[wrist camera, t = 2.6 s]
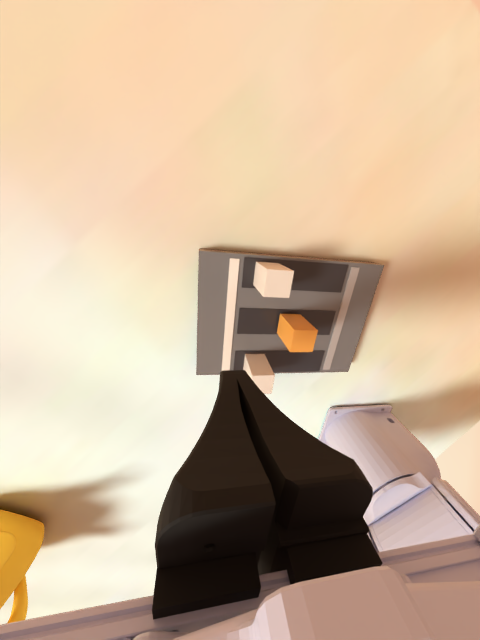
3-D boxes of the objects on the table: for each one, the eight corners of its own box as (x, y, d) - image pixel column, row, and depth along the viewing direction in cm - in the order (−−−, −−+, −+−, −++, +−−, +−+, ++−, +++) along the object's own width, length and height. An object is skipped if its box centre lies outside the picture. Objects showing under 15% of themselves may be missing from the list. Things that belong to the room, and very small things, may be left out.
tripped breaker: (300, 314, 21) (317, 330, 18) (296, 333, 22) (312, 352, 18) (280, 313, 21) (294, 330, 17) (276, 333, 21) (289, 352, 18)
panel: (373, 262, 22) (418, 272, 17) (341, 364, 27) (369, 393, 22) (199, 248, 19) (198, 256, 14) (196, 366, 23) (195, 401, 19)
